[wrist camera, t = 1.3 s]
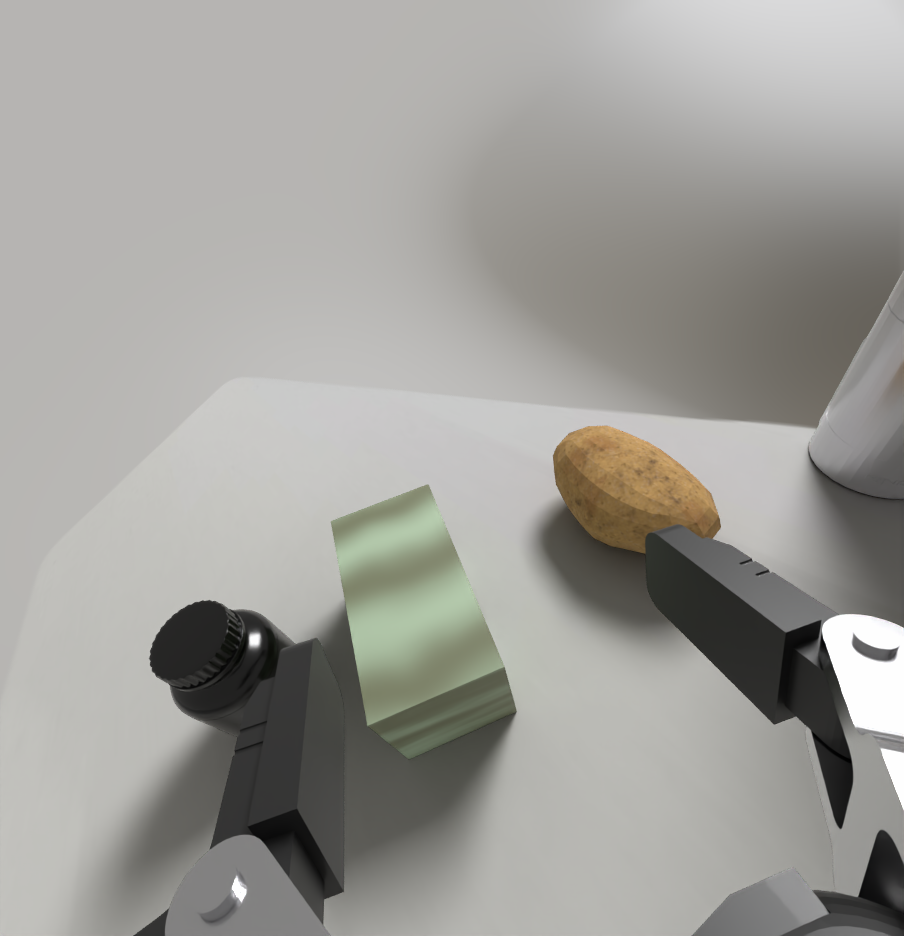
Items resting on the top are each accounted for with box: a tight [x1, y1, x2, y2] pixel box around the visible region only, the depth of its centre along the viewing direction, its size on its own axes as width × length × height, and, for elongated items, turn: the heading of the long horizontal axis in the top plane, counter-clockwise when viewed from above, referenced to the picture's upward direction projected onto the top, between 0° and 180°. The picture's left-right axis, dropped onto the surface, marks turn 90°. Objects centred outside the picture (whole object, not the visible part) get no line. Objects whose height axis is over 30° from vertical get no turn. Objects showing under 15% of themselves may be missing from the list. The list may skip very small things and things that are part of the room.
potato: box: [553, 426, 721, 554], centre depth 37 cm, size 10×14×8 cm
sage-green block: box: [331, 484, 517, 759], centre depth 33 cm, size 15×8×9 cm, turn 19°
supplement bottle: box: [149, 600, 295, 737], centre depth 30 cm, size 7×7×12 cm
